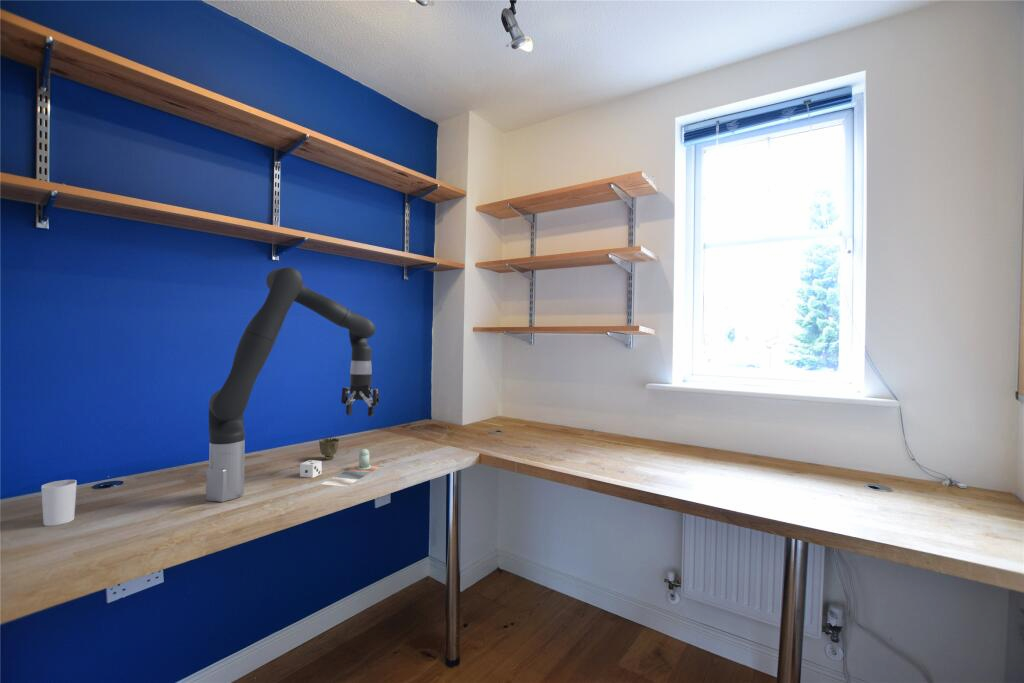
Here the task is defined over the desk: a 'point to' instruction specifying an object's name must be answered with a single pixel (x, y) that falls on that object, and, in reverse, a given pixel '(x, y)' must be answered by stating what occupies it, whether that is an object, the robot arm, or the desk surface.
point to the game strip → (349, 476)
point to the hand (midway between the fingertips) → (359, 415)
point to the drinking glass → (58, 502)
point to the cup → (328, 447)
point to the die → (310, 468)
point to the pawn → (364, 460)
